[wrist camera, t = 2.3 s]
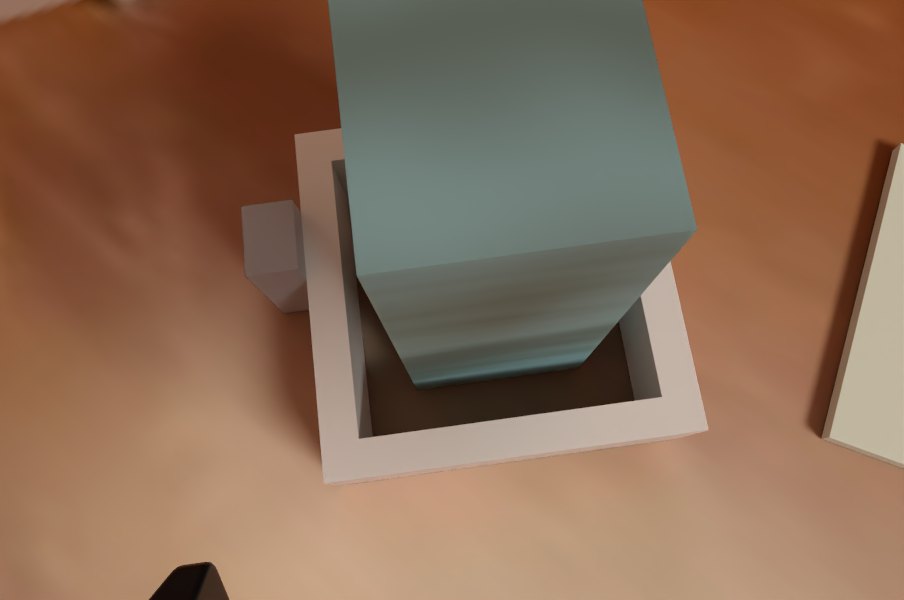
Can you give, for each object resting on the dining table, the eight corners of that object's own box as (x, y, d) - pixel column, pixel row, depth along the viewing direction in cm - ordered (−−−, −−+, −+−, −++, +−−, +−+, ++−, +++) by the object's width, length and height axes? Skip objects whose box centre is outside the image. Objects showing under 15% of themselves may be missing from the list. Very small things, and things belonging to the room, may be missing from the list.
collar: (676, 438, 21) (721, 426, 17) (297, 491, 21) (258, 491, 17) (612, 138, 24) (639, 69, 20) (274, 183, 24) (235, 123, 20)
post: (578, 367, 22) (697, 229, 10) (417, 390, 22) (356, 275, 10) (550, 217, 23) (629, -55, 12) (398, 238, 23) (326, -14, 12)
